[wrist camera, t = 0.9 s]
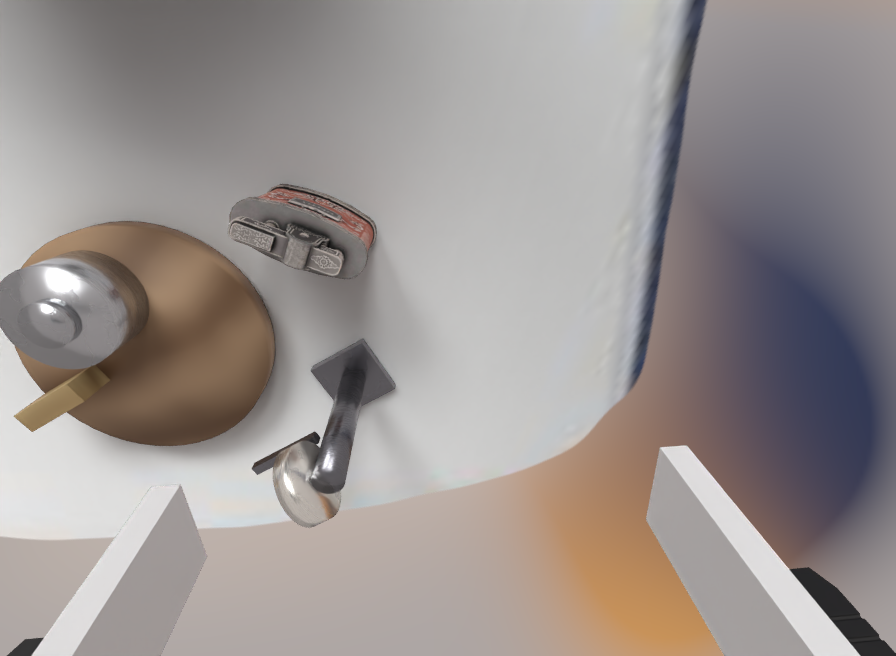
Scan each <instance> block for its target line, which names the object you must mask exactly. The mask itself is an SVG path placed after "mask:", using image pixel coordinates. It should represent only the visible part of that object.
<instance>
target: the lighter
mask: <svg viewBox="0 0 896 656" xmlns="http://www.w3.org/2000/svg"><path fill="white" fill-rule="evenodd" d="M229 223H230V224H229V227H228V235H229V237H230V238H231V239H233V240H235V241H237V242H240V243H243V244H246V245H248V246H250V247H252V248H254V249H256V250H258V251H259V252H261V253H263V254H265V255H267V256H269V257H271V258H273V259H276V260H278V261H280V262H283V263H284V264H285V265H287V266H289V267H292V268H295V269H299V270H305V271H309V272H312V273H316V274H319V275H325V276H331V277H336V278H342V279H351V278H354V277H356V276H358V275H359V274H360V273H361V272H362V271H363V269H364V267H365V265H366V263H367V258H368V250H369V248H370V247H371V246H372V245H373V243H374V241H375V238H376V234H377V230H376V225H375V223H374V221H373V220H372V219H371V218H370V217H368V216H367V215H365V214H363V213H362V212H360V211H359V210H357V209H356V208H354V207H352V206H351V205H349V204H346V203H344V202H342V201H340V200H338V199H336V198H334V197H332V196H330V195H327V194H324V193H320V192H317V191H314V190H311V189H308V188H303V187H298V186H293V185H288V184H280V185H277V186H275V187H273V188H271V189H270V190H269V191H268V192H267V193H266V194H264V195H262V196H259V197H248V198H246V199H244V200H241V201H239V202H237V204H236V205H235V206H234V207H233V208H232V210H231V213H230V219H229Z"/></svg>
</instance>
